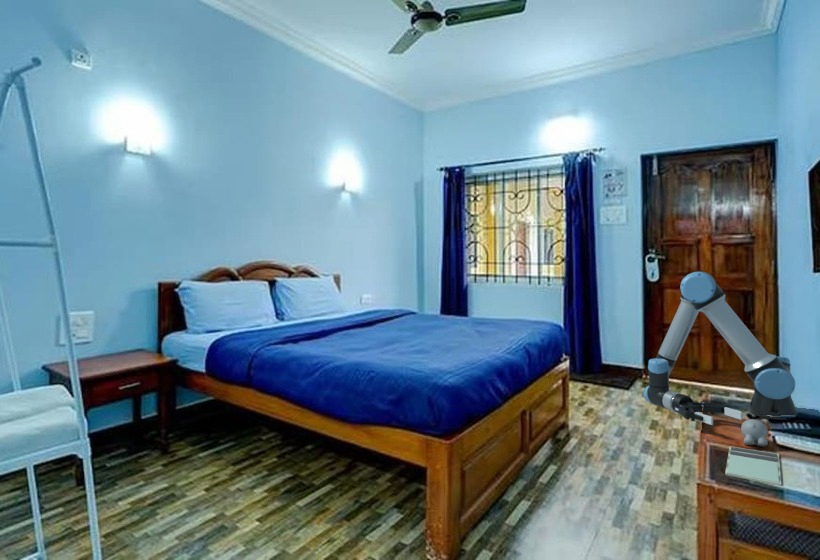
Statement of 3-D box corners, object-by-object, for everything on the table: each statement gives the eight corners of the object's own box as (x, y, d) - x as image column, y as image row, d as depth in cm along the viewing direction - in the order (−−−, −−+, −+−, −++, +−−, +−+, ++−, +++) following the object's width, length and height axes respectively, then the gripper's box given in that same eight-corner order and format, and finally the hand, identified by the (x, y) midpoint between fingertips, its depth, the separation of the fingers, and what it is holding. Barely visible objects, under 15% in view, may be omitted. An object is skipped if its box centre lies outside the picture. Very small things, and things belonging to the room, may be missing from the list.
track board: (729, 447, 159) (729, 446, 159) (778, 455, 151) (778, 453, 151) (725, 475, 140) (725, 473, 140) (781, 485, 132) (781, 483, 132)
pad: (730, 455, 152) (730, 454, 152) (777, 463, 145) (777, 462, 145) (727, 473, 140) (727, 472, 140) (778, 482, 132) (778, 482, 132)
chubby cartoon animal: (764, 448, 163) (763, 422, 166) (770, 446, 153) (768, 419, 156) (739, 445, 167) (738, 420, 169) (743, 443, 157) (741, 416, 159)
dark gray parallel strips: (731, 447, 158) (731, 446, 158) (776, 454, 151) (776, 454, 151) (730, 454, 152) (730, 453, 152) (777, 462, 145) (777, 461, 145)
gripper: (703, 408, 194) (753, 423, 173) (653, 416, 187) (699, 434, 166) (702, 389, 193) (753, 403, 173) (652, 397, 187) (699, 412, 166)
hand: (727, 418), depth 170 cm, fingers open, 13 cm apart
